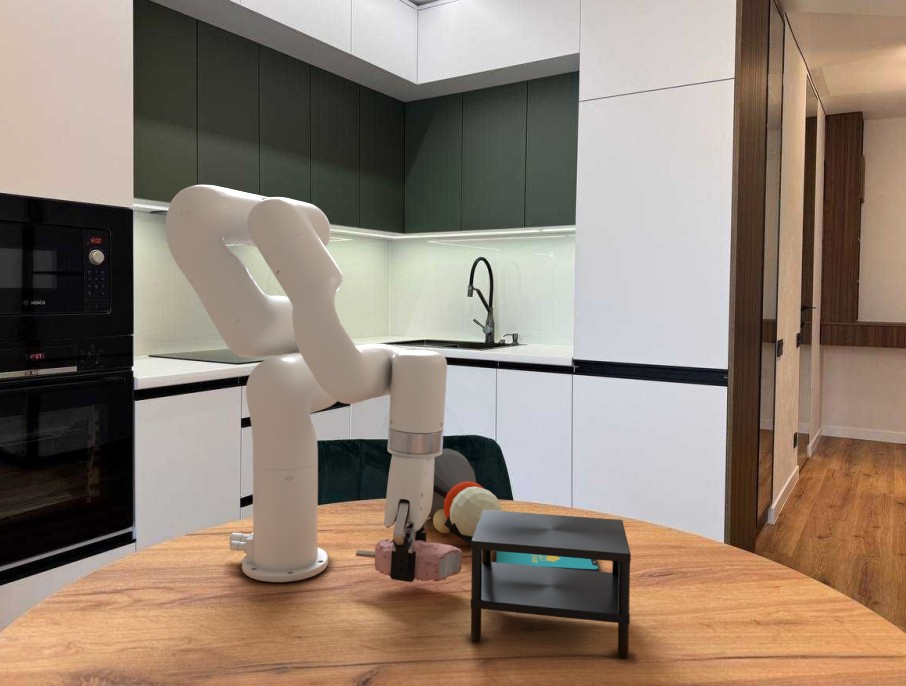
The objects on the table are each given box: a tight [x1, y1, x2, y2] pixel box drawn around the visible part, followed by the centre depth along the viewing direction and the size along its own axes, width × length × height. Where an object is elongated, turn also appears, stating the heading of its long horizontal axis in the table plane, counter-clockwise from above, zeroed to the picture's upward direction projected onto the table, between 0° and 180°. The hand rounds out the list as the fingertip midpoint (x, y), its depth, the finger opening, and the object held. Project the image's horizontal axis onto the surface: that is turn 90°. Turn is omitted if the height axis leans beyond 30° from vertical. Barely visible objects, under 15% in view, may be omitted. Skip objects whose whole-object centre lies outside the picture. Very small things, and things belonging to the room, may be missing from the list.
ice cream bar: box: [355, 538, 463, 582], centre depth 96 cm, size 6×4×15 cm
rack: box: [470, 510, 632, 660], centre depth 86 cm, size 18×12×12 cm, turn 78°
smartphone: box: [495, 551, 600, 572], centre depth 106 cm, size 7×1×15 cm
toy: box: [427, 448, 503, 547], centre depth 122 cm, size 17×13×30 cm
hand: (408, 568), depth 96 cm, fingers closed on ice cream bar, 6 cm apart
